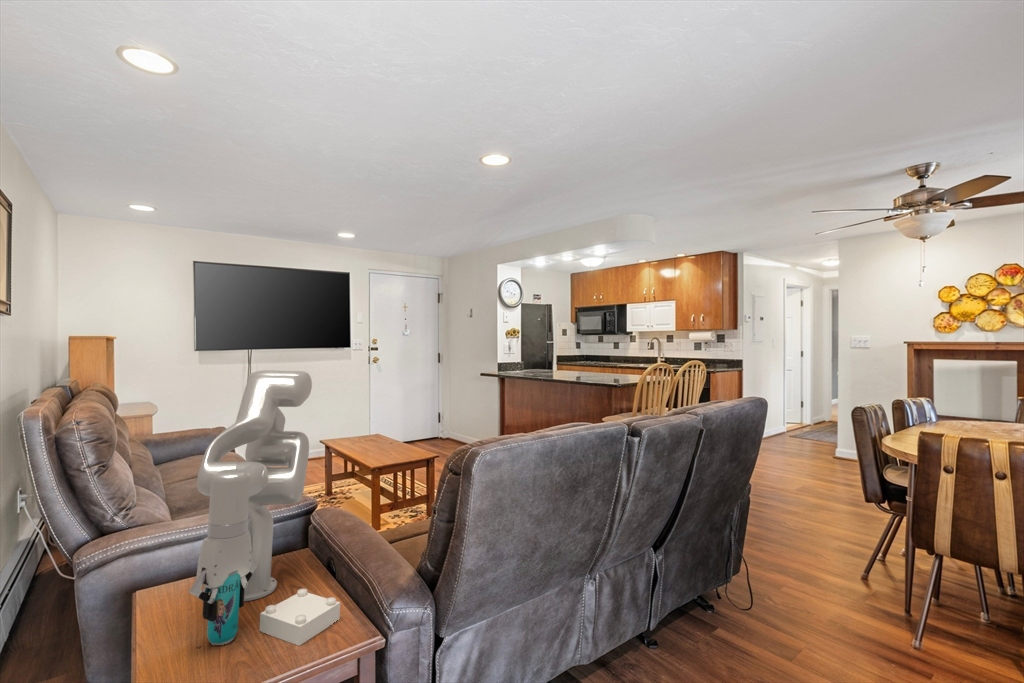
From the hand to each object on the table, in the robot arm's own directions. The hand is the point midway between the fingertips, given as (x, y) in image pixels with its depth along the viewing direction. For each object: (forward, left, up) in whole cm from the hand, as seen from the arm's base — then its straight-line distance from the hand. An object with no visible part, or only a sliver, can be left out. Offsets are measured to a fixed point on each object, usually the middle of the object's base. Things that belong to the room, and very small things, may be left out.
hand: (223, 611), depth 109 cm
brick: (+10, +12, -6) cm, 17 cm away
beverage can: (0, 0, -6) cm, 6 cm away
